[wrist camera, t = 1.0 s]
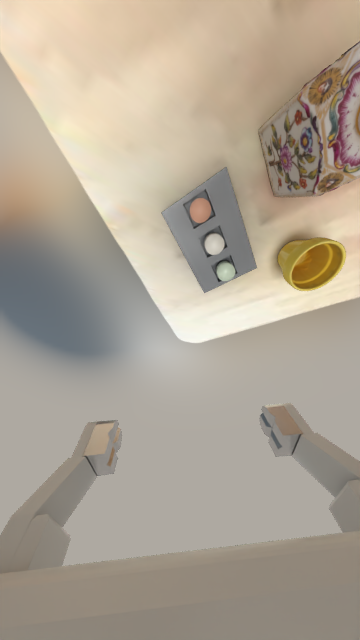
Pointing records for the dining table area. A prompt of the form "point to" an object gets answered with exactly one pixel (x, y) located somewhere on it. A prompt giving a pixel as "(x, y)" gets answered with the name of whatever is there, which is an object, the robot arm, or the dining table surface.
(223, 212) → the button console
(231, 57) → the dining table surface
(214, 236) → the ivory button
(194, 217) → the terracotta button
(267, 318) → the dining table surface
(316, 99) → the decorative jar
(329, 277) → the plant pot
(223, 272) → the sage button
